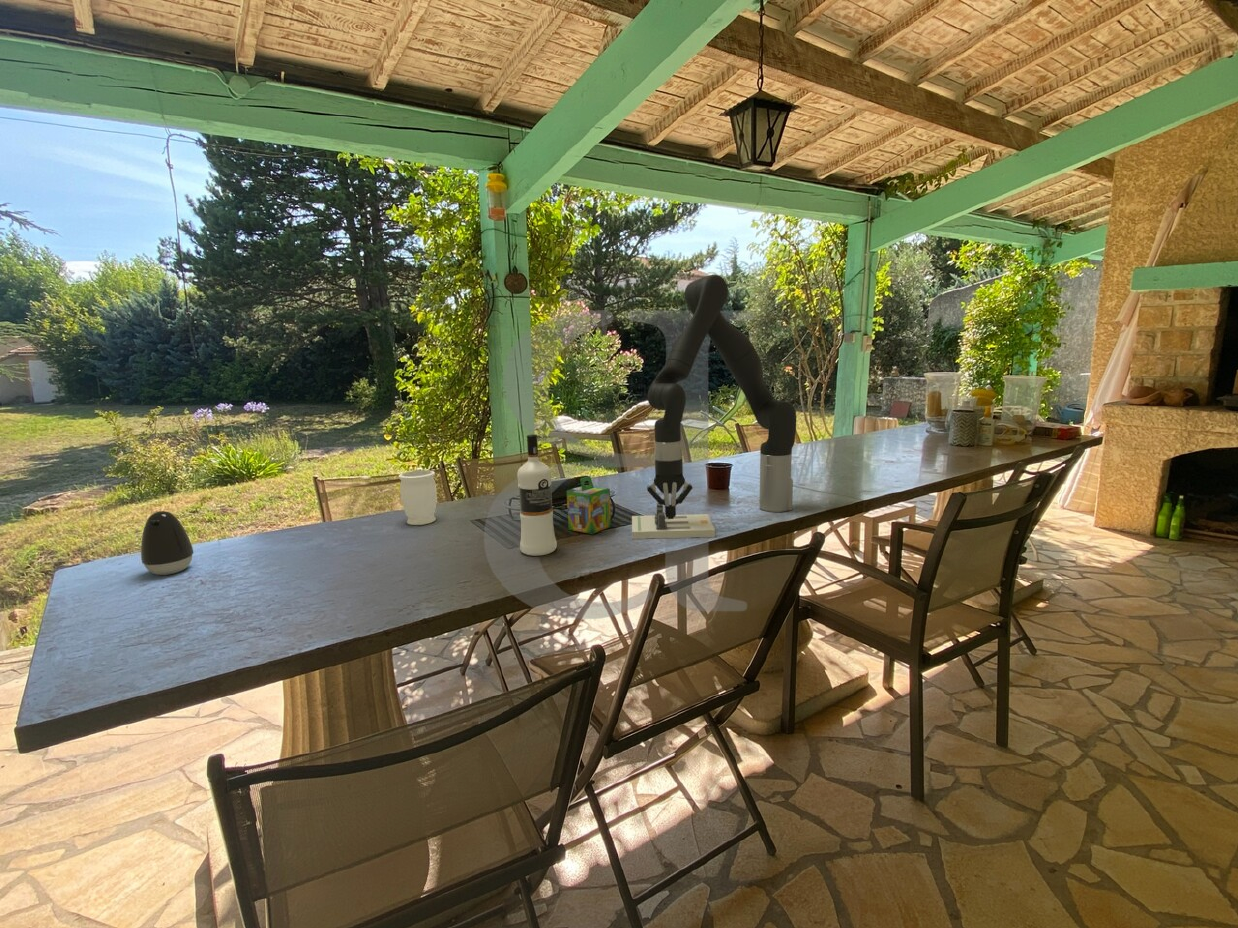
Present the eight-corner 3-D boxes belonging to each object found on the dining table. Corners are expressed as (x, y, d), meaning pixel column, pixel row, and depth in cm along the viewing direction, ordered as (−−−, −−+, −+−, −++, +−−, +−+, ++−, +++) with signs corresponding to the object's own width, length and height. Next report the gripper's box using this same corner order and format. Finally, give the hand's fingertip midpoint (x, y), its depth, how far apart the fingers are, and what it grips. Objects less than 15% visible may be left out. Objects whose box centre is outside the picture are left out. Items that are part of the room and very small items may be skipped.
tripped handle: (664, 519, 170) (664, 507, 170) (665, 523, 167) (665, 510, 166) (654, 520, 170) (654, 507, 170) (655, 523, 167) (654, 510, 167)
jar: (432, 526, 179) (428, 476, 176) (398, 527, 180) (392, 477, 177) (443, 516, 190) (439, 469, 187) (410, 517, 190) (406, 470, 187)
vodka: (546, 542, 162) (540, 430, 156) (563, 551, 154) (557, 434, 148) (514, 549, 157) (506, 434, 151) (530, 559, 149) (522, 438, 143)
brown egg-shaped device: (135, 581, 142) (123, 519, 139) (156, 566, 152) (145, 508, 149) (185, 576, 145) (174, 514, 142) (202, 561, 155) (192, 504, 152)
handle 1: (664, 514, 175) (664, 502, 175) (665, 518, 172) (664, 505, 171) (654, 515, 175) (654, 502, 175) (655, 518, 172) (655, 505, 171)
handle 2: (666, 525, 165) (666, 512, 165) (667, 528, 162) (667, 515, 162) (656, 525, 166) (656, 512, 165) (656, 528, 162) (656, 515, 162)
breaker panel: (707, 520, 176) (707, 513, 176) (715, 537, 162) (715, 529, 161) (632, 522, 177) (631, 515, 176) (632, 539, 162) (632, 531, 162)
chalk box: (592, 535, 166) (589, 482, 163) (567, 530, 172) (564, 479, 169) (612, 526, 174) (611, 476, 171) (588, 522, 179) (586, 472, 176)
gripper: (691, 453, 168) (693, 513, 172) (643, 455, 169) (646, 515, 172) (694, 458, 161) (696, 521, 165) (644, 460, 161) (647, 523, 165)
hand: (670, 518), depth 168 cm, fingers closed
